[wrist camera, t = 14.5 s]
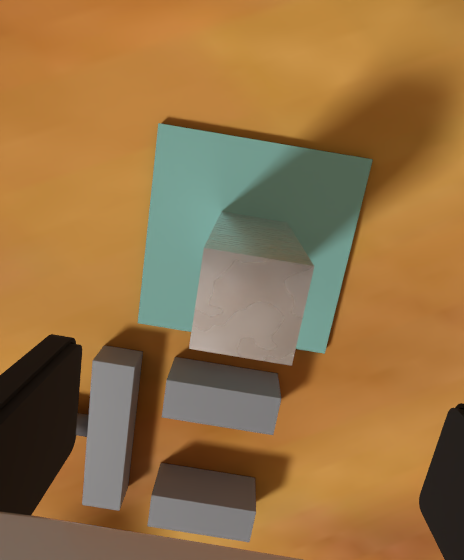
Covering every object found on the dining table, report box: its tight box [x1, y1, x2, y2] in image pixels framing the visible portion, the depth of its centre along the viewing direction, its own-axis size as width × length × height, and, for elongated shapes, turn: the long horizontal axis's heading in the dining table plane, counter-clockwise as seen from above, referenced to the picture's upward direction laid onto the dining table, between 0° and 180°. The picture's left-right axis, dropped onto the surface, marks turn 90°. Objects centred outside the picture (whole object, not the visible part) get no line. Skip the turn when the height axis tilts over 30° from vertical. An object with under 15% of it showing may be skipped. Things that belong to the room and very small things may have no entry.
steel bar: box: [189, 211, 314, 366], centre depth 23 cm, size 4×4×12 cm
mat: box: [138, 123, 373, 354], centre depth 29 cm, size 14×14×1 cm
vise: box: [76, 345, 281, 542], centre depth 32 cm, size 16×13×4 cm
